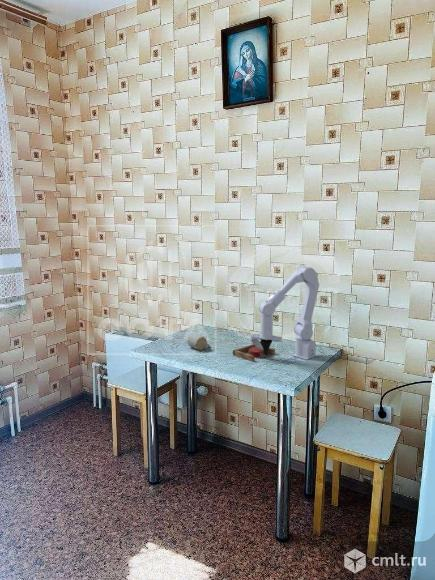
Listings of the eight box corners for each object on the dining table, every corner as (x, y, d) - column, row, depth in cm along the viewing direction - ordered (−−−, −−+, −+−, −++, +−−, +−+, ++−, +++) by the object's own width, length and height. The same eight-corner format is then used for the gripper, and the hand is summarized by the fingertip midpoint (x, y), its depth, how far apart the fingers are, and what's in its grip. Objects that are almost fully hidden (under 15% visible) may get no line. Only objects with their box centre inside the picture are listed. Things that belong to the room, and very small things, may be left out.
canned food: (257, 360, 224) (263, 341, 225) (270, 363, 215) (276, 344, 217) (241, 353, 218) (247, 334, 219) (253, 356, 209) (260, 337, 211)
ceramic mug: (196, 351, 223) (196, 337, 221) (187, 348, 229) (187, 333, 227) (212, 347, 229) (213, 333, 228) (203, 344, 236) (203, 330, 234)
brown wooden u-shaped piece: (274, 353, 219) (275, 349, 218) (252, 361, 208) (252, 356, 207) (255, 348, 228) (255, 343, 228) (232, 355, 217) (232, 350, 217)
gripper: (283, 326, 211) (282, 353, 213) (253, 324, 215) (253, 350, 218) (280, 330, 204) (280, 358, 207) (250, 327, 209) (250, 355, 211)
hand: (266, 354), depth 212 cm, fingers closed
